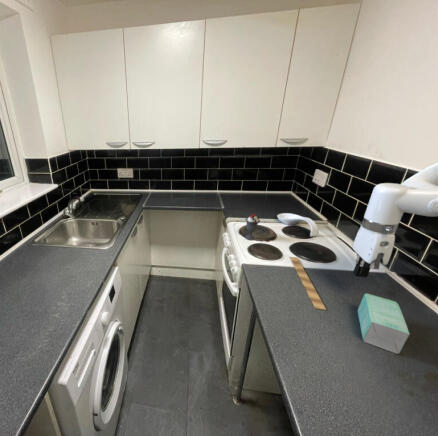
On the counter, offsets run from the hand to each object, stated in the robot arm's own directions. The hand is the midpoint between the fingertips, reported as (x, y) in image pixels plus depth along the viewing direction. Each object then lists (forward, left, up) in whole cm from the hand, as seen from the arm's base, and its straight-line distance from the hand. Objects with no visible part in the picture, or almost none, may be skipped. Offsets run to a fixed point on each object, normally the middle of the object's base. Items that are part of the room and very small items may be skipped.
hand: (359, 275), depth 76 cm
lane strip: (+13, -5, -8) cm, 16 cm away
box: (0, +15, -9) cm, 17 cm away
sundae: (+29, -35, -9) cm, 46 cm away
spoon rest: (+3, -53, -9) cm, 54 cm away
